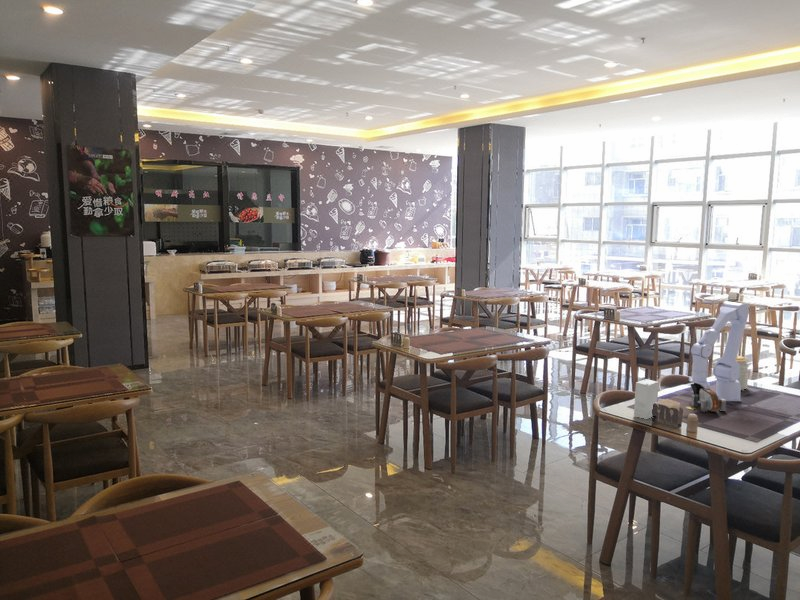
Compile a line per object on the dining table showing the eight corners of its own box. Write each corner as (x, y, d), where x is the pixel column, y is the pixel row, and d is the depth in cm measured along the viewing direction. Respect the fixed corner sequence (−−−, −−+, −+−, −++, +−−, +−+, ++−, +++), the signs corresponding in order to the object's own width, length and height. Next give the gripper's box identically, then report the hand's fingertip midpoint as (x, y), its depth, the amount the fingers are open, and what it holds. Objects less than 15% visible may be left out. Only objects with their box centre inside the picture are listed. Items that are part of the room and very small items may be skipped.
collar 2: (722, 410, 264) (723, 398, 263) (725, 411, 262) (726, 400, 261) (700, 410, 264) (701, 398, 263) (702, 411, 262) (703, 400, 261)
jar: (724, 382, 311) (726, 348, 309) (752, 388, 301) (754, 352, 298) (712, 387, 303) (714, 351, 301) (740, 392, 293) (742, 355, 290)
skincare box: (643, 413, 260) (645, 378, 258) (657, 416, 255) (659, 381, 254) (632, 417, 255) (634, 381, 253) (646, 420, 250) (648, 384, 248)
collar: (712, 405, 272) (713, 393, 271) (715, 406, 270) (715, 394, 269) (691, 405, 272) (691, 393, 271) (693, 406, 270) (694, 395, 269)
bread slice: (719, 414, 259) (720, 394, 258) (711, 414, 259) (712, 394, 258) (704, 404, 273) (705, 385, 272) (697, 403, 274) (698, 385, 273)
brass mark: (693, 407, 269) (693, 406, 269) (697, 409, 265) (697, 408, 265) (683, 407, 269) (683, 406, 269) (688, 409, 265) (688, 408, 265)
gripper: (682, 366, 281) (681, 396, 282) (699, 374, 266) (697, 405, 268) (698, 366, 281) (696, 396, 283) (715, 374, 267) (713, 405, 268)
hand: (698, 400), depth 275 cm, fingers closed
